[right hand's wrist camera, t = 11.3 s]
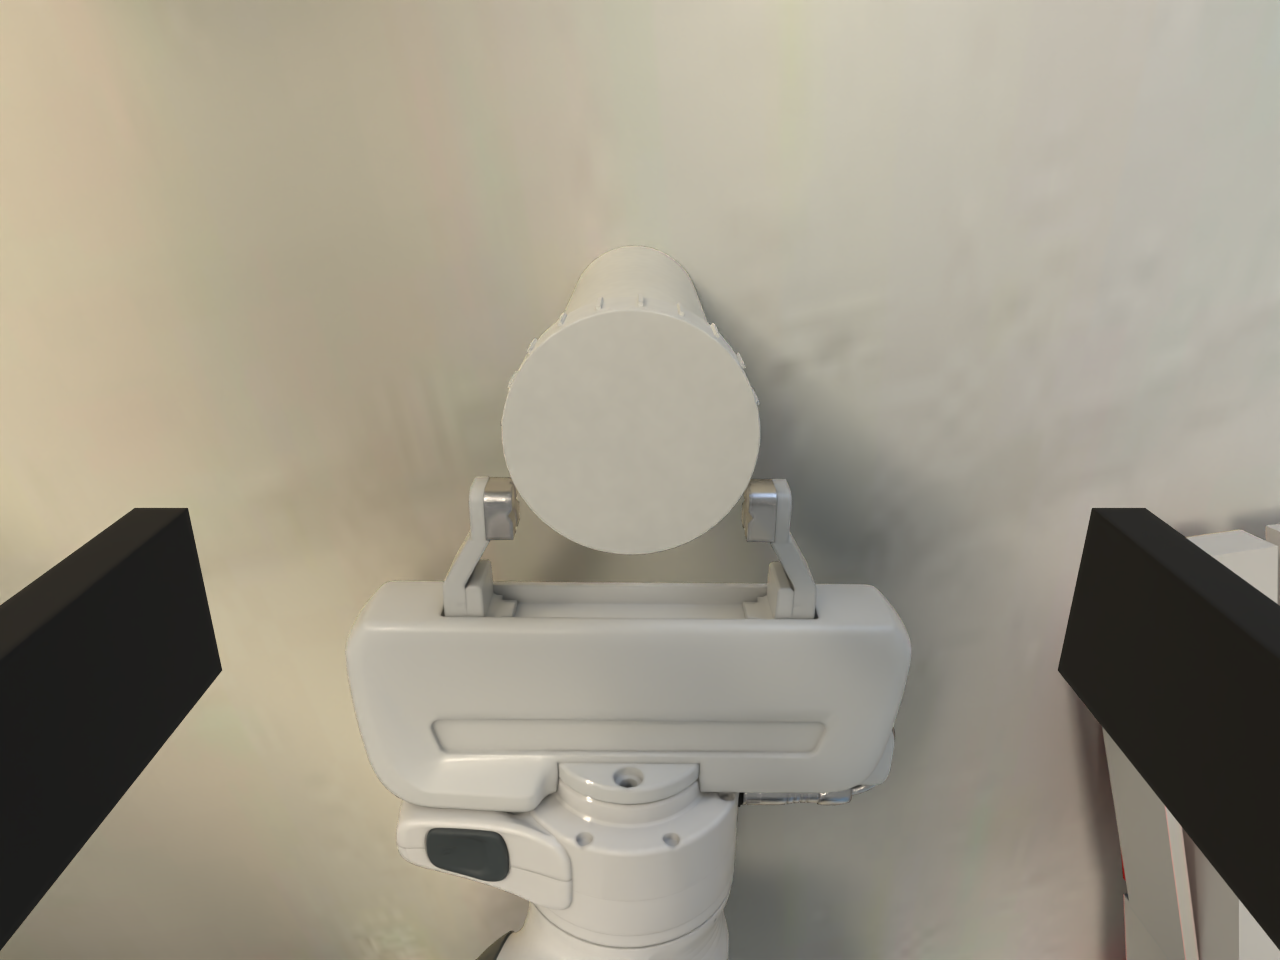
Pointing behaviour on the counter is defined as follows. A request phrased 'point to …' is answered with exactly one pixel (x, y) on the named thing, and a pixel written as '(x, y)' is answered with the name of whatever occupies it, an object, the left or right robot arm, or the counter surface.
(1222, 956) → the toy
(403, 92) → the counter surface
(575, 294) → the jar
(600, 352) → the lid
